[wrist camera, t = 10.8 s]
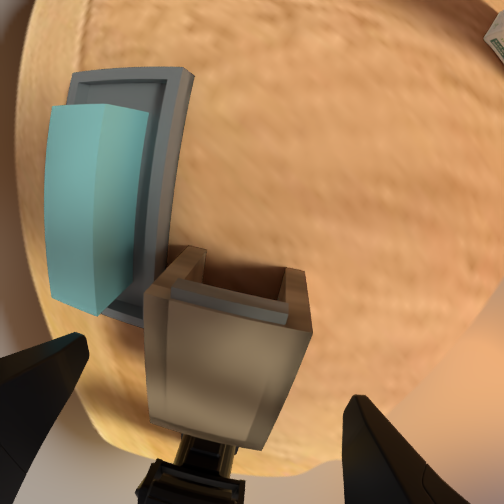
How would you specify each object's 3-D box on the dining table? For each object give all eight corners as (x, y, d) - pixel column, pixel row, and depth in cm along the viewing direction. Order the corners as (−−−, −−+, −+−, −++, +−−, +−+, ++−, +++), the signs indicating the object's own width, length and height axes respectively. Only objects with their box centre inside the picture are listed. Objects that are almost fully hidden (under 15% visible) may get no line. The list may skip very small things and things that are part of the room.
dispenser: (268, 384, 23) (261, 450, 16) (178, 363, 23) (150, 422, 17) (307, 263, 19) (316, 322, 12) (189, 237, 19) (143, 281, 13)
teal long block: (132, 282, 20) (97, 316, 15) (90, 269, 20) (51, 297, 15) (149, 112, 16) (105, 103, 11) (100, 110, 16) (52, 106, 11)
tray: (163, 316, 22) (152, 331, 20) (78, 287, 22) (63, 299, 20) (194, 75, 15) (183, 67, 13) (90, 77, 16) (72, 72, 14)
